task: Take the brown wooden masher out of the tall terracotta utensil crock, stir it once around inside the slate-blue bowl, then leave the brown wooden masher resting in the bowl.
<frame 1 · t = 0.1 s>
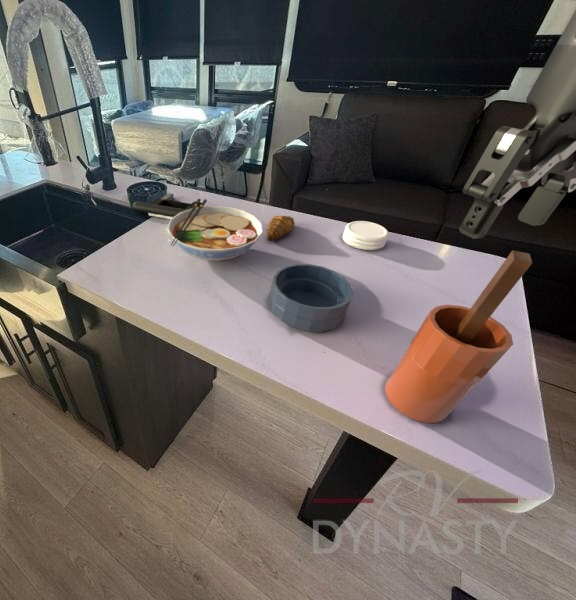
hand: (500, 228, 36), 26 cm above the kitchen island, tool pointing down, fingers open, 8 cm apart
croissant: (279, 233, 90), on the kitchen island
brown wooden masher: (445, 359, 44), point 9 cm above the kitchen island, touching crock
coaster: (362, 241, 85), on the kitchen island
crock: (415, 398, 49), on the kitchen island
ramen bowl: (213, 252, 83), on the kitchen island
bowl: (304, 308, 66), on the kitchen island
door handle: (170, 209, 104), on the kitchen island
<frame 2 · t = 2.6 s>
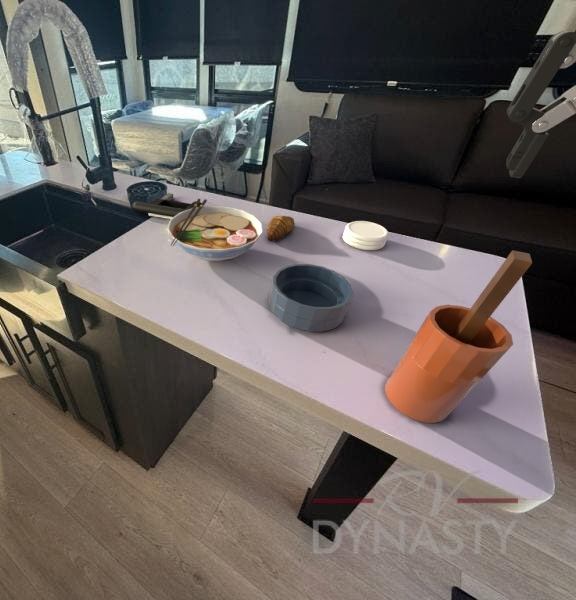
nothing on the kitchen island moved.
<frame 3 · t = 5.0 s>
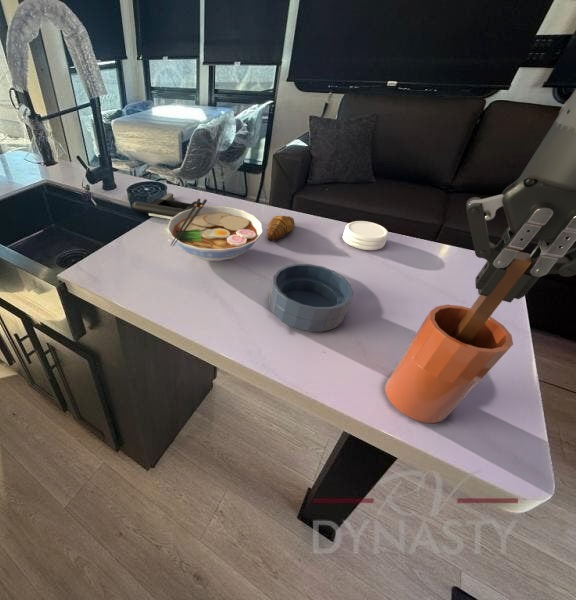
hand: (493, 294, 37), 20 cm above the kitchen island, tool pointing down, fingers closed on brown wooden masher
brown wooden masher: (444, 359, 44), point 9 cm above the kitchen island, touching crock, gripper
everything else where it was.
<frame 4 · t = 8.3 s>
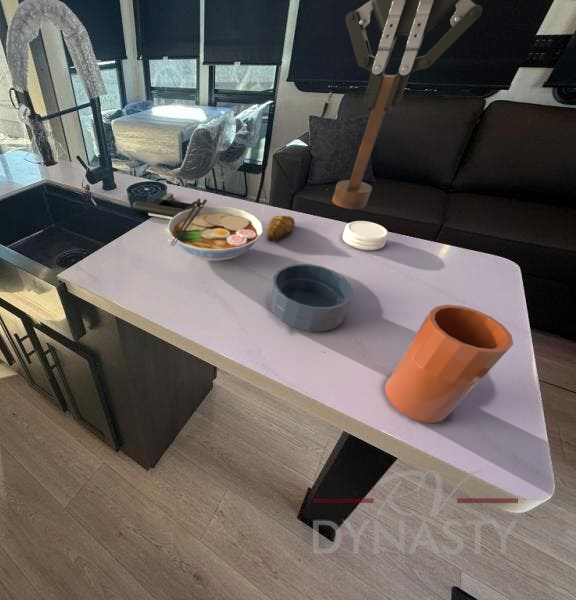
hand: (379, 109, 42), 35 cm above the kitchen island, tool pointing down, fingers closed on brown wooden masher
brown wooden masher: (348, 202, 50), point 23 cm above the kitchen island, touching gripper
everything else where it was.
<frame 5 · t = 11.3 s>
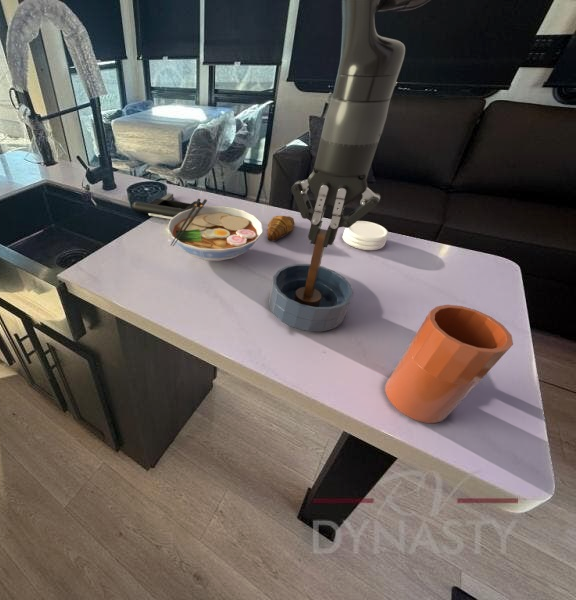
hand: (320, 243, 57), 15 cm above the kitchen island, tool pointing down, fingers closed on brown wooden masher
brown wooden masher: (306, 303, 66), point 1 cm above the kitchen island, touching bowl, gripper
everything else where it was.
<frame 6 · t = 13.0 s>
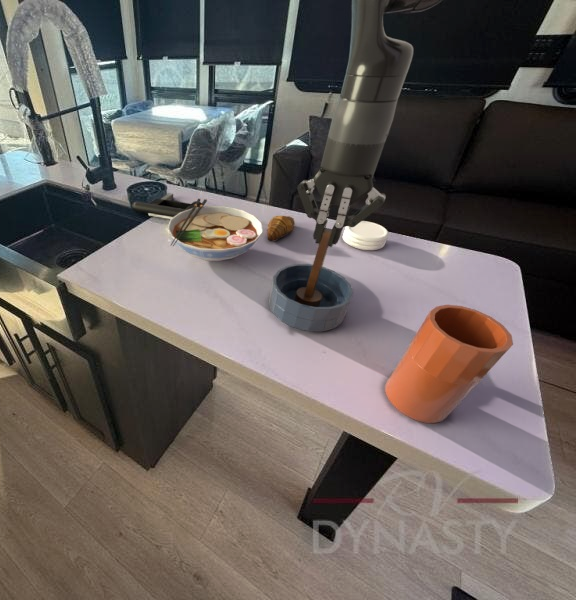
hand: (324, 242, 57), 14 cm above the kitchen island, tool pointing down, fingers closed on brown wooden masher
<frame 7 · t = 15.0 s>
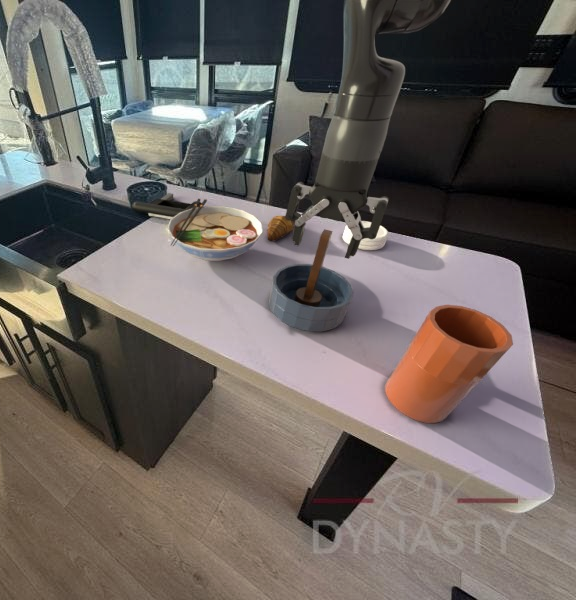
hand: (322, 249, 57), 14 cm above the kitchen island, tool pointing down, fingers open, 8 cm apart
brown wooden masher: (306, 304, 66), point 1 cm above the kitchen island, touching bowl
everything else where it was.
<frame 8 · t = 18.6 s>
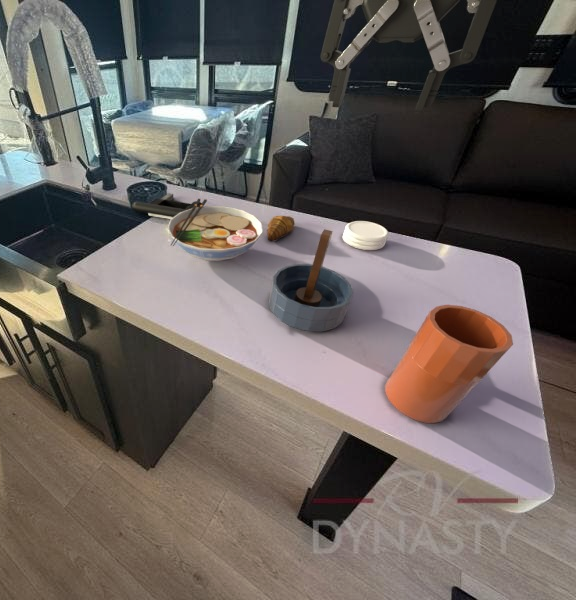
hand: (375, 109, 38), 36 cm above the kitchen island, tool pointing down, fingers open, 8 cm apart
nothing on the kitchen island moved.
at the end: brown wooden masher inside the target area in the bowl (0.6 cm from its centre), point 0.6 cm above the bowl's base; brown wooden masher moved 25.2 cm from its start; the gripper is holding nothing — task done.
